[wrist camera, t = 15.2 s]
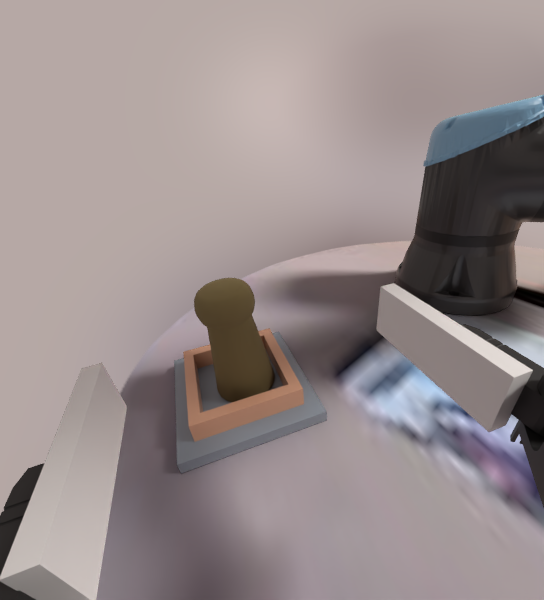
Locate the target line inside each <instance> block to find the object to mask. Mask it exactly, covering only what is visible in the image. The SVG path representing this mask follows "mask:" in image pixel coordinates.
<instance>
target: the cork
mask: <svg viewBox="0 0 544 600" xmlns="http://www.w3.org/2000/svg"><path fill="white" fill-rule="evenodd" d="M254 305H255V299H254V295H253V292H252V290H251V288H250V286H249V285H248V284H247V283H246V282H244V281H243V280H240V279H236V278H224V279H219V280H215V281H212V282H210V283H208V284H206V285H205V286H203V287H202V288H201V289H200V290H199V291H198V292H197V294H196V296H195V299H194V307H195V312H196V315H197V317H198V318H199V320H200V321H201V322H202V323H203V325H205V326H207V328H208V334H209V341H210V347H211V353H212V359H213V365H214V371H215V377H216V383H217V389H218V392H219V394H220V396H221V397H222V398H224V399H225V400H227V401H229V402H235V401H238V400H242V399H245V398H248V397H251V396H254V395H257V394H260V393H263V392H266V391H269V389H270V388H271V387H272V385H273V383H274V378H275V373H274V371H273V368H272V365H271V363H270V360H269V358H268V355H267V353H266V350H265V348H264V345H263V342H262V340H261V337H260V335H259V332H258V330H257V327H256V324H255V322H254V319H253V317H252V313H253V310H254Z"/></svg>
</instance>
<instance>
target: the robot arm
mask: <svg viewBox="0 0 544 600" xmlns="http://www.w3.org/2000/svg"><path fill="white" fill-rule="evenodd" d="M424 166H426V167H425V174H424V180H423V186H422V192H421V198H420V204H419V210H418V216H417V223H416V229H415V235H414V238H413V240H412V242H411V244H410V246H409V248H408V250H407V252H406V254H405V257H404V260H403V262H402V263H401V264H400V265H399V267H398V269H397V273H396V281H395V284H394V283H392V284H388V285H385V286H381V287H380V298H379V308H378V318H377V329H376V330H377V331H378V332H379V333H380V334H381V335H382V336H383V337H384V338H386V339H387V340H388V341H389V342H390V343H391V344H392V345H393V346H394V347H395V348H397V349H398V350H399V351H400V352H401V353H402V354H403V355H404V356H405V357H406V358H408V359H409V360H410V361H411V362H412V363H413V364H414V365H415V366H416V367H418V368H419V369H420V370H421V371H422V372H423V373H424V374H425V375H426V376H427V377H429V378H430V379H431V380H432V381H433V382H434V383H435V384H436V385H437V386H438V387H440V388H441V389H442V390H443V391H444V392H445V393H446V394H447V395H448V396H450V397H451V398H452V399H453V400H454V401H455V402H456V403H457V404H458V405H459V406H461V407H462V408H463V409H464V410H465V411H466V412H467V413H468V414H469V415H470V416H472V417H473V418H474V419H475V420H476V421H477V422H478V423H479V424H480V425H482V426H483V427H484V428H485V429H486V430H487V431H488V432H491V431H493V430H496V429H498V428H500V427H503V426H505V425H506V424H507V422H508V420H509V418H510V416H511V414H512V415H513V416H515V417H516V418H517V419H519V421H518V423H517V424H516V426H515V428H514V430H513V432H512V434H511V436H510V438H511V441H512V442H515V440H516V438H517V436H518V435H519V434H520V437H521V441H520V444H523V446H524V449H525V452H526V455H527V458H528V461H529V464H530V467H531V470H532V473H533V477H534V480H535V483H536V486H537V489H538V492H539V495H540V498H541V501H542V504H543V507H544V368H543V367H541V366H539V365H538V364H536V363H534V362H533V361H531V360H529V359H528V358H526V357H524V356H523V355H521V354H519V353H518V352H516V351H514V350H513V349H511V348H509V347H508V346H506V345H503V344H502V343H501V342H500V341H498V340H496V339H493V338H492V337H491V336H490V335H488V334H486V333H485V332H483V331H481V330H480V329H477V328H474V327H471V326H468V325H466V324H464V325H460V324H458V323H457V322H455V321H454V320H452V319H450V318H449V317H447V316H446V315H444V314H442V313H441V312H444V313H451V314H459V315H482V314H490V313H494V312H498V311H501V310H503V309H505V308H507V307H508V306H509V305H510V304H511V302H512V300H513V297H514V295H515V292H516V289H517V280H516V261H515V250H514V245H515V241H516V237H517V234H518V231H519V228H520V226H521V224H522V222H544V95H540V96H537V97H532V98H528V99H524V100H520V101H516V102H512V103H507V104H504V105H499V106H495V107H491V108H487V109H483V110H479V111H475V112H471V113H466V114H462V115H458V116H454V117H451V118H447V119H445V120H443V121H442V122H440V123H439V124H438V125H437V126H436V127H435V129H434V130H433V132H432V134H431V138H430V143H429V147H428V153H427V158H426V161H424ZM439 311H440V312H439ZM126 411H127V406H126V404H125V402H124V401H123V399H122V397H121V395H120V394H119V392H118V390H117V389H116V387H115V385H114V383H113V381H112V380H111V378H110V376H109V374H108V373H107V371H106V369H105V367H104V366H103V364H102V363H100V364H96V365H92V366H89V367H85V368H82V369H81V371H80V374H79V376H78V379H77V382H76V384H75V387H74V389H73V392H72V394H71V397H70V399H69V402H68V405H67V407H66V410H65V412H64V415H63V417H62V420H61V422H60V425H59V428H58V430H57V433H56V435H55V438H54V441H53V443H52V445H51V448H50V451H49V453H48V456H47V458H46V461H45V463H44V464H40V465H37V466H34V467H32V468H28V469H27V471H26V472H25V473H24V475H23V476H22V477H21V478H20V480H19V481H18V482H17V483H16V485H15V486H14V487H13V489H12V491H11V493H10V496H9V498H8V500H7V502H6V504H5V506H4V512H2V513H1V515H0V600H96V596H97V590H98V584H99V578H100V572H101V566H102V559H103V553H104V547H105V541H106V535H107V529H108V522H109V516H110V510H111V504H112V498H113V492H114V485H115V479H116V473H117V467H118V461H119V455H120V448H121V442H122V436H123V430H124V424H125V417H126Z"/></svg>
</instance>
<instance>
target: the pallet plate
mask: <svg viewBox="0 0 544 600" xmlns="http://www.w3.org/2000/svg"><path fill="white" fill-rule="evenodd" d="M258 332H259V335H260V337H261V340H262V342H263V345H264V348H265V350H266V353H267V355H268V358H269V360H270V363H271V365H272V368H273V371H274V373H275V378H274V383H273V385H272V387H271V388H270V389H269V391H266V392H263V393H260V394H257V395H254V396H251V397H248V398H245V399H242V400H238V401H235V402H229V401H227V400H225V399H224V398H222V397H221V396H220V394H219V392H218V389H217V383H216V377H215V371H214V365H213V359H212V353H211V347H210V345H207V346H203V347H199V348H196V349H192V350H188V351H185V352H183V353H184V358H183V359H179V360H175V361H174V367H175V407H176V447H177V466H178V468H179V470H180V473H184V472H187V471H189V470H192V469H195V468H197V467H200V466H203V465H206V464H208V463H211V462H214V461H217V460H219V459H222V458H225V457H228V456H230V455H233V454H236V453H238V452H241V451H244V450H247V449H249V448H252V447H255V446H258V445H260V444H263V443H266V442H269V441H271V440H274V439H277V438H280V437H282V436H285V435H288V434H290V433H293V432H296V431H299V430H301V429H304V428H307V427H310V426H312V425H315V424H318V423H321V422H323V421H326V420H327V412H326V410H325V408H324V406H323V405H322V403H321V401H320V400H319V398H318V396H317V395H316V393H315V391H314V390H313V388H312V386H311V385H310V383H309V381H308V380H307V378H306V376H305V375H304V373H303V371H302V370H301V368H300V366H299V365H298V363H297V361H296V360H295V358H294V356H293V355H292V353H291V351H290V350H289V348H288V346H287V345H286V343H285V341H284V340H283V338H282V336H281V335H280V333H279V332H276V333H272V332H271V330H270V328H269V329H265V330H261V331H258Z"/></svg>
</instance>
